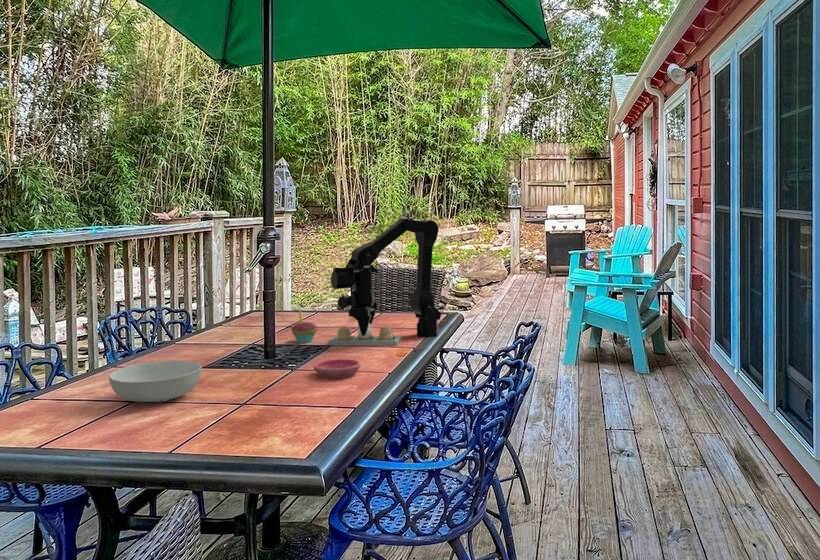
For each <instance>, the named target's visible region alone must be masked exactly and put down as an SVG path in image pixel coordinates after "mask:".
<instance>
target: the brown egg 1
mask: <svg viewBox="0 0 820 560" xmlns="http://www.w3.org/2000/svg"><path fill="white" fill-rule="evenodd" d="M336 336H337V337H338V340H351V336H352V332H351V329H350V327H348V326H341V327H339V328H338V330H337V333H336Z"/></svg>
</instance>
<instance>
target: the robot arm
mask: <svg viewBox="0 0 820 560" xmlns="http://www.w3.org/2000/svg"><path fill="white" fill-rule="evenodd" d="M406 232H410V233H414V237H415V241H416V243H417V247H418V248H417V251H418V253H417V267H416V268H417V271H416V288H415V290H414V292H412V293H411V292H410V293H409V304H408V306H410V309H411V311H412V312H413V313H414V316H415V318H416V319H418V321H417V323H416V336H417V337H419V338H437V337H438V335H439V331H438V329H439V328H438V325H439V322H438V321H439V320H441V317H442V313H441V312H440V310H439V309H438V308H437V307H435V300H434V296H433V292H432V290H431V285H432V268H433V264H432V263H433V248H434V245H435V243H436V242H437V239H438V235H439V224H437V222H436V221H434V220H429V219H427V220H426V219H424V220H415V219H411V218H408V217H403V218H399V219H398V220H397V221H396V222H395V223H393V224H392V225H391V226H389V228H387V229H386V230H384V231H383V232H381V234H379V235H378V236H377V237H375V238H374V239H373V240H371V241H369V242H366V243H364V244H362V245H359V246H358V247H356V248H354V249H353V250H352V252H351V257H350V258H349V260H348V262H347V264H346V265H345V267H333V268H332V272H331V275H330V284H331V288H332V289H333V290H340V289H341V290H342V289H351V288H353V286H354V289H353V291H352V294H350V295H349V296H345V295H342V296H339V297H338V300H337V301H336V302H337V305H336V306H337V307H339V309H340V311H342V310H345V308H348V307H350V306H351V307H350V308H349V309H348V317H351V318H354V319H355V320H356V321H357V323H358V325H359V328H360V331H361V334H362V336H365V335H366V332H367V329H368V325H369V323H370V324H371V325H372V324H373V322H374V319H375V317H376V314H377V310H378V309H379V308H380V303H379V301H378V300H377V299H373V298H374V297H373V296H374V295H373V294H374V292H375V291H374V288H373V273H378V272H379V270H378V269H377V268H376V267H375V266H374V265H373V263H374V262H375V261H376V260H377V258H379V255H380V254H381V252H382V251H383V250H384V249H386V248H387V247H388V246H389V245H391V244H392V243H393V242H394V241H396V240H398V239H399V238H400V237H401V236H402V235H403V234H405V233H406ZM373 309H375V310H373Z"/></svg>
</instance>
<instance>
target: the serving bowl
mask: <svg viewBox="0 0 820 560" xmlns="http://www.w3.org/2000/svg"><path fill="white" fill-rule="evenodd" d="M201 376H202V365H201V364H200V363H198V362H195V361H189V360H158V361H157V360H156V361H150V362H149V361H147V362H143V363H142V362H141V363H137V364H136V363H135V364H131V365H128V366H127V365H126V366H125V367H122V368H118V369H116V370H114V371H112V372H110V374H109V375H108V380H109V384H110V386H111V389H112V390H113V392H114V393H115V394H116V395H117V396H118V397H120V398H122V399H123V400H126V401H130V402H137V403H144V402H157V401H164V400H168V401H170V400H169V399H172V400H174V399H176V398H178V397H181V396H184V395H186V394H188V393H189V392H191V391H192V390H193V389H195V387H196V386H197V385H198V383H199V381H200V379H201ZM173 398H174V399H173ZM164 402H165V401H164ZM157 403H158V402H157Z"/></svg>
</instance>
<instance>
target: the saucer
mask: <svg viewBox="0 0 820 560" xmlns="http://www.w3.org/2000/svg"><path fill="white" fill-rule="evenodd" d="M360 368H361V361H359V360H357V359H349V358H335V359H334V358H333V359H327V360H322V361H319V362H316V363H315V364H313V370H314V371H315V372H316V373H317V375H319V377H321V378H324V379H333V380H337V379H345V378H350V377H353V376H354V375H356V373H357V372H358V371H359V369H360Z"/></svg>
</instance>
